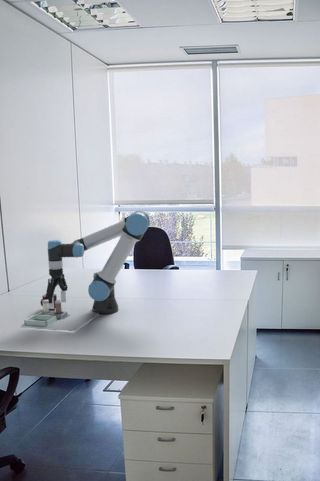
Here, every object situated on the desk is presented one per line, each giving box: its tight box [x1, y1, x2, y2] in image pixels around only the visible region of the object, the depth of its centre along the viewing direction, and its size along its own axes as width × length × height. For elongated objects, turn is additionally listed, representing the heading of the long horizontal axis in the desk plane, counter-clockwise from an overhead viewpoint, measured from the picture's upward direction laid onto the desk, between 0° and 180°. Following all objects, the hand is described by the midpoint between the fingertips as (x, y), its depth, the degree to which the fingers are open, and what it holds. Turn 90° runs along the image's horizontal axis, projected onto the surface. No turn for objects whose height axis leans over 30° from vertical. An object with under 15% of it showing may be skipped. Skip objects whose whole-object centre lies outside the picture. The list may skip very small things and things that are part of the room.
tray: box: [23, 314, 58, 327], centre depth 258 cm, size 14×11×3 cm
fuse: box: [41, 299, 49, 314], centre depth 269 cm, size 4×4×9 cm
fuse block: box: [37, 310, 71, 320], centre depth 268 cm, size 18×8×3 cm, turn 73°
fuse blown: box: [55, 299, 62, 315], centre depth 266 cm, size 4×4×9 cm
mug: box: [40, 293, 58, 311], centre depth 281 cm, size 11×8×10 cm
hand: (57, 305), depth 266 cm, fingers open, 13 cm apart
